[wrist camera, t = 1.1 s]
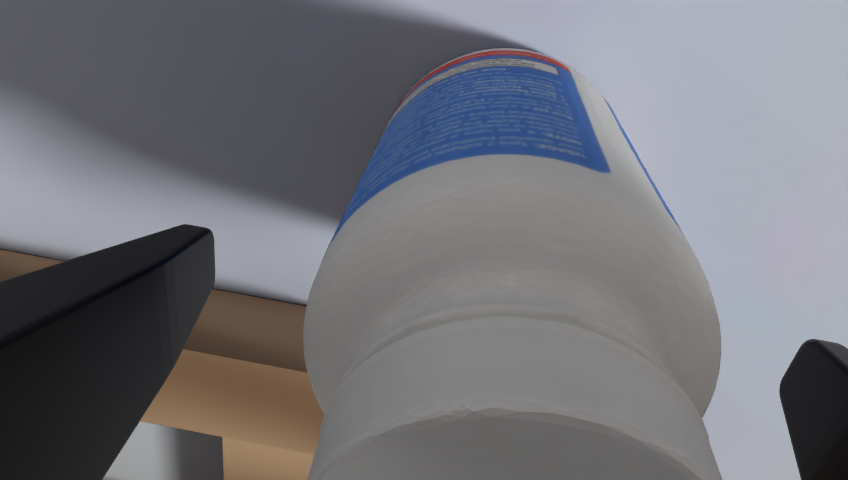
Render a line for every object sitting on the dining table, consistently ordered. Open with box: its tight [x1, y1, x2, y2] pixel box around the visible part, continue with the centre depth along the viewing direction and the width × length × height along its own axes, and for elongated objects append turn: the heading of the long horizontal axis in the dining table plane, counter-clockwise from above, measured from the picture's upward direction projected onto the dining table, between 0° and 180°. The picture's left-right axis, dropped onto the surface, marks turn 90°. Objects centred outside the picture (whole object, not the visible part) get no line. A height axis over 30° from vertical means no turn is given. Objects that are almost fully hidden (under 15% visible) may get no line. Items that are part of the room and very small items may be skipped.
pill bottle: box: [303, 48, 722, 480], centre depth 10 cm, size 6×5×10 cm
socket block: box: [0, 250, 325, 480], centre depth 18 cm, size 12×12×2 cm
